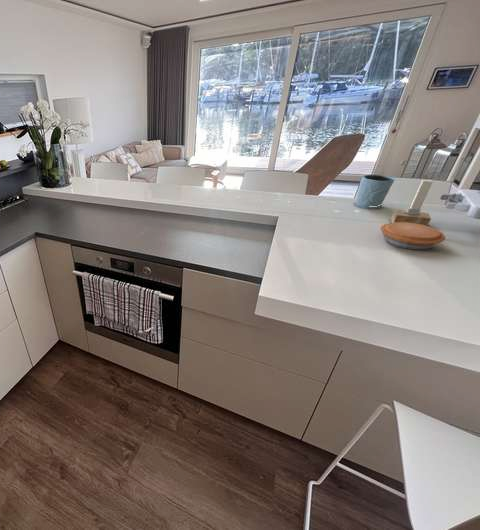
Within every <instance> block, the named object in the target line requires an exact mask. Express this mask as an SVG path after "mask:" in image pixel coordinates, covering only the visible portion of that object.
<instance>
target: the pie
mask: <svg viewBox="0 0 480 530" xmlns="http://www.w3.org/2000/svg"><path fill="white" fill-rule="evenodd" d="M379 229H380V231H381V233H382V235H383V238H384V240H385V241H386V242H387V243H388V244H390V245H392V246H396V247H399V248H403V249H406V250H407V249H408V250H427V249H430V248H432V247H434V246H435V245H438V244H440V243H443V242H444V241H445V240H446V238H447V237H446V235H445V234H444V233H443V232H441V231H440V230H437V229H436V228H434V227H431V226H429V225H428V226H425V225H422V224H416V223H409V222H394V223H392V222H390V223H385V224H383V225H381V226H380V228H379Z"/></svg>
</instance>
